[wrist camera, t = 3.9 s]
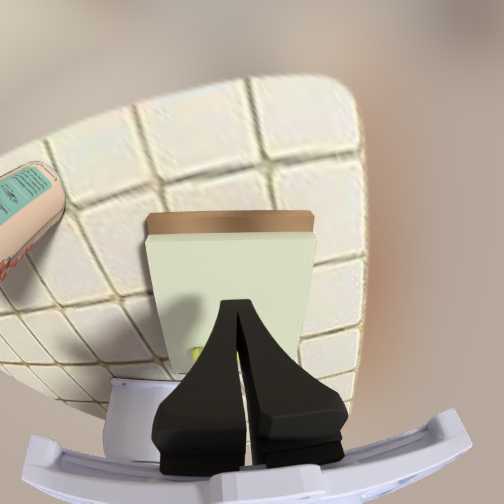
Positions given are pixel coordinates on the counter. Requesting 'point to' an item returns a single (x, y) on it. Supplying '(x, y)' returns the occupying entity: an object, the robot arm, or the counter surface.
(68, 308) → the counter surface
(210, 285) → the plate
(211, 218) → the walnut base
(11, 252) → the beer can
